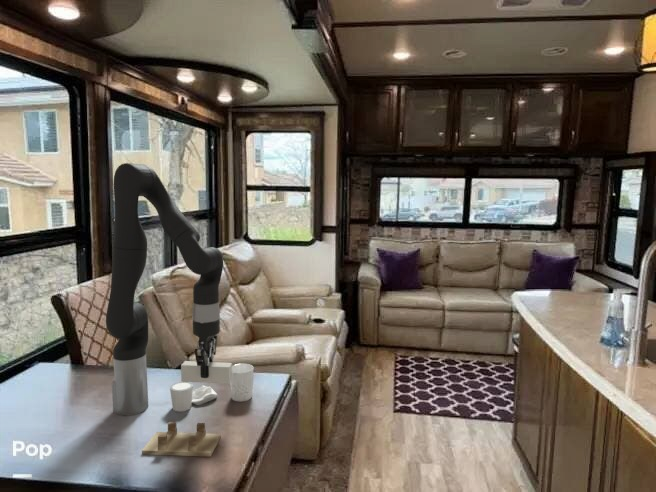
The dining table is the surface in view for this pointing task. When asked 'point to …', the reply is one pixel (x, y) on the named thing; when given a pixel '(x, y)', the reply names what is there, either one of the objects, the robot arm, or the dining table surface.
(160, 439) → the rack
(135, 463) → the dining table surface
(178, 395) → the white short tapered cylinder
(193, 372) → the white rectangular block
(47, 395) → the dining table surface
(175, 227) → the robot arm
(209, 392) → the rose
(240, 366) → the white cup
